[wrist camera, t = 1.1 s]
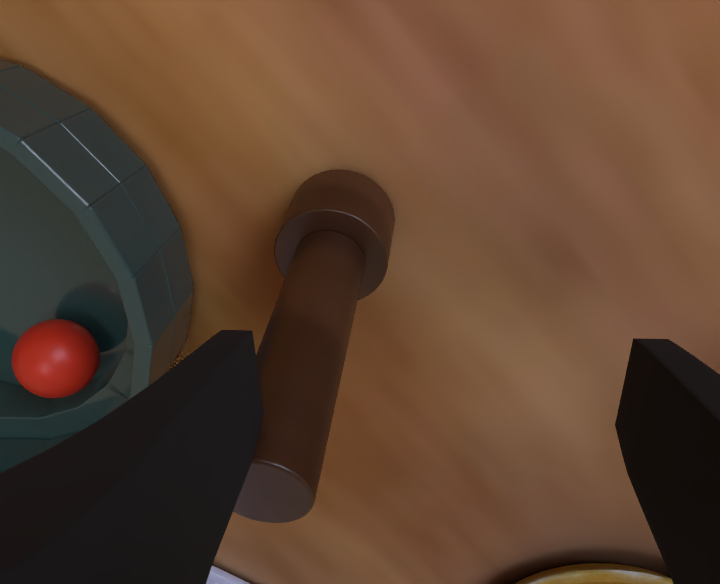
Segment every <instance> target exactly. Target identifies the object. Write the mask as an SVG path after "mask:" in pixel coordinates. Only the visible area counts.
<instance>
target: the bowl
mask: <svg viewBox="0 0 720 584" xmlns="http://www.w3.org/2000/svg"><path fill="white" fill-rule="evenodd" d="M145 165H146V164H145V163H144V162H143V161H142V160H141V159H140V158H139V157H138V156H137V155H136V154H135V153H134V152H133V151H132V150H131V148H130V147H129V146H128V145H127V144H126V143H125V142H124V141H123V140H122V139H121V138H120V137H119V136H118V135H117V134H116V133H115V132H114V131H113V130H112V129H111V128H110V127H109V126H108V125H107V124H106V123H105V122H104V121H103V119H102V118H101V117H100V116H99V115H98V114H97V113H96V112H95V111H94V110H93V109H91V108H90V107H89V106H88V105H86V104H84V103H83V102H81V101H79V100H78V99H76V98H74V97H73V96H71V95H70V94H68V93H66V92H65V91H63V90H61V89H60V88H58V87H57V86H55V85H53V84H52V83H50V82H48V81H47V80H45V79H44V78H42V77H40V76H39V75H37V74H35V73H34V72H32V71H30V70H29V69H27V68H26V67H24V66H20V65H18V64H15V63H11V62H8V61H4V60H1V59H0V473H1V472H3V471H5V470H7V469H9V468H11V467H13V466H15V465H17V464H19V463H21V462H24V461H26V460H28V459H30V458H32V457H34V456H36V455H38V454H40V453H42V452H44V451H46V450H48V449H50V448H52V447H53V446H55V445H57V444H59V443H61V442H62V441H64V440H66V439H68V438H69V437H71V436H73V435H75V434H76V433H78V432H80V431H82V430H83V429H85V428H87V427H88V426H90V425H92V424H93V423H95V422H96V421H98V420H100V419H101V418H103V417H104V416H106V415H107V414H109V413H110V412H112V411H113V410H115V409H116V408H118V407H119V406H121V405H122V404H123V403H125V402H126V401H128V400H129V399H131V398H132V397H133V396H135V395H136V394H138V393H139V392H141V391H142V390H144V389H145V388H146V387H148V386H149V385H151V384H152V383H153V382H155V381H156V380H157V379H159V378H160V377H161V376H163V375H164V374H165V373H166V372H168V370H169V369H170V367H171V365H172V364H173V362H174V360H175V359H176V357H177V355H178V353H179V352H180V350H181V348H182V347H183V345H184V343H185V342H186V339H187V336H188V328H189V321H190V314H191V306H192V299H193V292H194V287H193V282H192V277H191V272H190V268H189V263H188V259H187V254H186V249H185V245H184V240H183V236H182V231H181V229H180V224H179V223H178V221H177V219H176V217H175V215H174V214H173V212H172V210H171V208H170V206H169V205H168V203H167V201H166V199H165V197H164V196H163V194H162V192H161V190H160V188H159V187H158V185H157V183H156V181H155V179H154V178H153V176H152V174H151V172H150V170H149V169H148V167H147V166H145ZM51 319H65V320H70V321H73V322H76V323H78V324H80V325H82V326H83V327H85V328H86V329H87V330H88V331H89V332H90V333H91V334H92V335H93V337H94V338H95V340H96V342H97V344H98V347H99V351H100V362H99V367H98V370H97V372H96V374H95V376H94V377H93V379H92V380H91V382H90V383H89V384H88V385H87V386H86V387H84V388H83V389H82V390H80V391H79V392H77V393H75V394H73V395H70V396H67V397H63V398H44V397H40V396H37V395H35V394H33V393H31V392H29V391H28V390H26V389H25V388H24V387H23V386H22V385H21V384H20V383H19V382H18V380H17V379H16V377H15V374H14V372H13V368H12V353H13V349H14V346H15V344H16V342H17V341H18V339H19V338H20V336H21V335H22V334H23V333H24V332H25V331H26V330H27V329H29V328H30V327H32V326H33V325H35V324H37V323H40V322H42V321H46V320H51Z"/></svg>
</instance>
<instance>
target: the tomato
mask: <svg viewBox="0 0 720 584" xmlns="http://www.w3.org/2000/svg"><path fill="white" fill-rule="evenodd" d="M99 362H100V351H99V347H98V344H97V342H96V340H95V338H94V337H93V335H92V334H91V333H90V332H89V331H88V330H87V329H86V328H85V327H83V326H82V325H80V324H78V323H76V322H73V321H70V320H65V319H51V320H46V321H42V322H40V323H37V324H35V325H33V326H32V327H30V328H29V329H27V330H26V331H25V332H24V333H23V334H22V335H21V336H20V338H19V339H18V341H17V342H16V344H15V346H14V349H13V353H12V368H13V372H14V374H15V377H16V379H17V380H18V382H19V383H20V384H21V385H22V386H23V387H24V388H25V389H26V390H28V391H29V392H31V393H33V394H35V395H37V396H40V397H44V398H63V397H67V396H70V395H73V394H75V393H77V392H79V391H80V390H82V389H83V388H84V387H86V386H87V385H88V384H89V383H90V382H91V380H92V379H93V377H94V376H95V374H96V372H97V370H98V367H99Z"/></svg>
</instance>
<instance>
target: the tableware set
mask: <svg viewBox="0 0 720 584" xmlns="http://www.w3.org/2000/svg"><path fill="white" fill-rule="evenodd" d="M515 584H673V581H672V579H671V578H670V577H667V576H664V575H662V574H660V573H657V572H654V571H650V570H647V569H644V568H639V567H635V566H629V565H621V564H612V563H587V564H577V565H568V566H563V567H558V568H554V569H549V570H545V571H542V572H539V573H536V574H534V575H531V576H529V577H526V578H524V579H522V580H520V581H518V582H517V583H515Z"/></svg>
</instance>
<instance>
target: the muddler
mask: <svg viewBox="0 0 720 584" xmlns="http://www.w3.org/2000/svg"><path fill="white" fill-rule="evenodd" d="M394 222H395V217H394V210H393V207H392V204H391V202H390V200H389V198H388V196H387V195H386V193H385V192H384V191H383V190H382V188H381V187H380V186H378V185H377V184H376V183H375V182H374V181H372V180H371V179H369V178H367V177H366V176H364V175H361V174H359V173H356V172H352V171H346V170H330V171H325V172H321V173H319V174H316V175H314V176H312V177H310V178H309V179H308V180H306V181H305V182H304V183H303V184H302V185H301V186H300V187H299V189H298V190H297V192H296V194H295V196H294V198H293V200H292V202H291V205H290V207H289V209H288V212H287V214H286V216H285V218H284V221H283V223H282V225H281V228H280V230H279V232H278V235H277V237H276V240H275V246H274V254H275V260H276V263H277V266H278V268H279V270H280V272H281V274H282V275H283V277H284V278H285V280H284V283H283V286H282V288H281V291H280V293H279V296H278V299H277V301H276V304H275V307H274V309H273V312H272V315H271V317H270V320H269V323H268V325H267V328H266V330H265V333H264V336H263V338H262V341H261V344H260V346H259V349H258V352H257V354H256V360H257V367H258V374H259V381H260V388H261V395H262V402H263V409H264V415H263V420H262V424H261V428H260V433H259V437H258V441H257V445H256V449H255V453H254V457H253V460H252V463H251V465H250V468H249V471H248V473H247V476H246V479H245V481H244V484H243V486H242V489H241V492H240V494H239V497H238V499H237V502H236V504H235V507H234V510H233V512H235V513H237V514H239V515H242V516H244V517H247V518H250V519H253V520H257V521H262V522H270V523H283V522H290V521H294V520H297V519H300V518H301V517H303V516H305V515H306V514H307V513H308V512H309V511H310V510H311V508H312V507H313V505H314V502H315V497H316V492H317V488H318V483H319V478H320V474H321V469H322V464H323V460H324V455H325V450H326V446H327V441H328V436H329V431H330V427H331V422H332V417H333V413H334V408H335V403H336V399H337V394H338V389H339V385H340V380H341V375H342V371H343V366H344V361H345V356H346V352H347V347H348V342H349V338H350V333H351V328H352V324H353V319H354V314H355V310H356V305H357V300H359V299H362V298H364V297H366V296H367V295H369V294H370V293H372V292H373V291H374V290H375V289H376V288H377V287H378V286H379V285H380V283H381V282H382V281H383V279H384V277H385V274H386V271H387V266H388V260H389V254H390V247H391V241H392V235H393V229H394Z"/></svg>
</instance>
